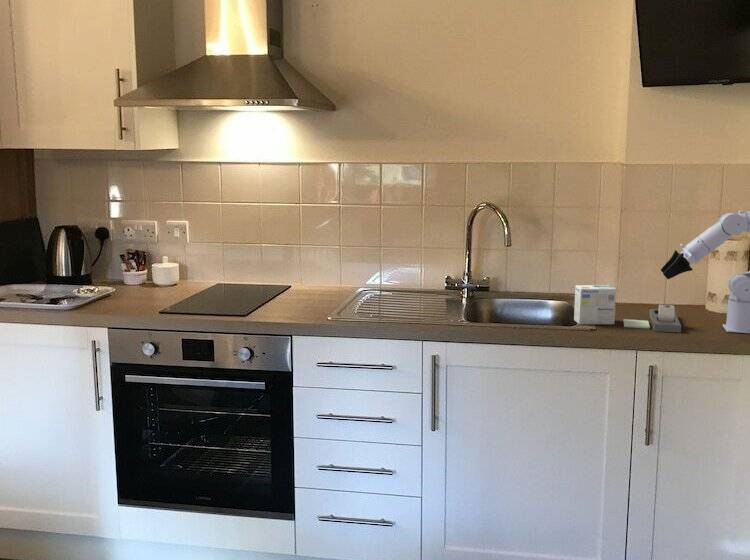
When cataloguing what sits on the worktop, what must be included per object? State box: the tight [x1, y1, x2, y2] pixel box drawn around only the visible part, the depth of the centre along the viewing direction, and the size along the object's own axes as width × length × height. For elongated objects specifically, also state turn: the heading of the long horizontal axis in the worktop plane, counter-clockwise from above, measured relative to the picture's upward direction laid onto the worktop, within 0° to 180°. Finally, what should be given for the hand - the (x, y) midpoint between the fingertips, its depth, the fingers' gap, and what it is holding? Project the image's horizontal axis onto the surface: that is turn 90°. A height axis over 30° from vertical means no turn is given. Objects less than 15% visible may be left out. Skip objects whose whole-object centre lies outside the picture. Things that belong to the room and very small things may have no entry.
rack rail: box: [648, 308, 682, 334], centre depth 234 cm, size 7×21×2 cm, turn 165°
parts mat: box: [622, 318, 651, 329], centre depth 233 cm, size 7×8×1 cm
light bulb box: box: [573, 284, 617, 325], centre depth 235 cm, size 11×7×11 cm, turn 92°
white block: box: [658, 304, 676, 322], centre depth 231 cm, size 4×4×6 cm
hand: (664, 274), depth 229 cm, fingers open, 7 cm apart
